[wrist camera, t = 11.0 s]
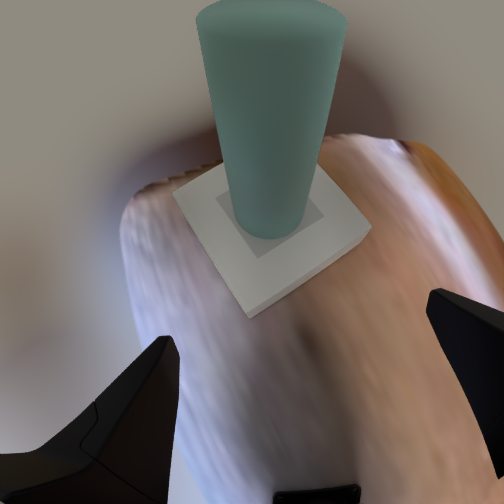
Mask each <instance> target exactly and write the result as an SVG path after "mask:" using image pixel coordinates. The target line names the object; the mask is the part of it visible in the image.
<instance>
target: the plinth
mask: <svg viewBox="0 0 504 504" xmlns="http://www.w3.org/2000/svg"><path fill="white" fill-rule="evenodd" d="M171 194H172V196H173V197H174V199H175V201H176V203H177V204H178V206H179V208H180V209H181V211H182V213H183V214H184V216H185V218H186V219H187V221H188V223H189V224H190V226H191V228H192V229H193V231H194V233H195V234H196V236H197V238H198V239H199V241H200V243H201V244H202V246H203V247H204V249H205V251H206V252H207V254H208V256H209V257H210V259H211V260H212V262H213V264H214V265H215V267H216V268H217V270H218V272H219V273H220V275H221V276H222V278H223V279H224V281H225V283H226V284H227V286H228V287H229V289H230V290H231V292H232V294H233V295H234V297H235V298H236V300H237V301H238V303H239V304H240V306H241V308H242V309H243V311H244V312H245V314H246V315H247V317H248V318H249V319H250V318H252V317H253V316H255V315H257V314H258V313H260V312H261V311H263V310H264V309H266V308H267V307H269V306H270V305H272V304H273V303H275V302H276V301H278V300H279V299H281V298H282V297H284V296H285V295H287V294H288V293H290V292H291V291H293V290H294V289H296V288H297V287H299V286H300V285H302V284H303V283H305V282H306V281H308V280H309V279H310V278H312V277H313V276H315V275H316V274H318V273H319V272H320V271H322V270H323V269H325V268H326V267H328V266H329V265H330V264H332V263H333V262H335V261H336V260H337V259H339V258H340V257H342V256H343V255H344V254H346V253H347V252H348V251H350V250H351V249H353V248H354V247H355V246H357V245H358V244H359V243H360V242H361V241H362V240H363V239H364V237H365V236H366V235H367V233H368V232H369V231H370V229H371V228H372V225H371V224H370V223H369V221H368V220H367V219H366V218H365V217H364V215H363V214H362V213H361V212H360V211H359V209H358V208H357V207H356V206H355V205H354V204H353V202H352V201H351V200H350V199H349V198H348V197H347V195H346V194H345V193H344V192H343V191H342V190H341V189H340V188H339V186H338V185H337V184H336V183H335V182H334V181H333V180H332V179H331V178H330V177H329V175H328V174H327V173H326V172H325V171H324V170H323V169H322V168H321V167H320V166H319V165H318V164H317V165H316V169H315V173H314V177H313V181H312V184H311V188H310V192H309V196H308V200H307V203H306V207H305V211H304V215H303V218H302V220H301V222H300V224H299V225H298V227H297V228H296V229H295V230H294V231H293V232H291V233H290V234H288V235H286V236H284V237H281V238H277V239H262V238H258V237H255V236H253V235H251V234H249V233H247V232H246V231H245V230H244V229H243V228H242V227H241V226H240V225H239V224H238V222H237V220H236V217H235V214H234V209H233V205H232V200H231V195H230V190H229V185H228V181H227V176H226V171H225V166H224V162H223V163H222V164H220V165H218V166H216V167H214V168H213V169H211V170H209V171H207V172H205V173H204V174H202V175H200V176H198V177H197V178H195V179H193V180H192V181H190V182H188V183H187V184H185V185H183V186H181V187H180V188H178V189H177V190H175V191H173V192H172V193H171Z"/></svg>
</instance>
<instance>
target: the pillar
mask: <svg viewBox="0 0 504 504" xmlns="http://www.w3.org/2000/svg"><path fill="white" fill-rule="evenodd" d="M196 24H197V30H198V35H199V40H200V45H201V51H202V55H203V61H204V66H205V71H206V76H207V81H208V86H209V92H210V97H211V102H212V106H213V111H214V116H215V121H216V127H217V132H218V137H219V142H220V146H221V151H222V156H223V161H224V166H225V171H226V176H227V181H228V185H229V190H230V195H231V200H232V205H233V209H234V214H235V217H236V220H237V222H238V224H239V225H240V226H241V227H242V228H243V229H244V230H245V231H246V232H247V233H249V234H251V235H253V236H255V237H258V238H262V239H277V238H281V237H284V236H286V235H288V234H290V233H291V232H293V231H294V230H295V229H296V228H297V227H298V225H299V224H300V222H301V220H302V218H303V215H304V211H305V207H306V203H307V200H308V196H309V192H310V188H311V184H312V181H313V177H314V173H315V169H316V165H317V161H318V157H319V153H320V149H321V144H322V140H323V136H324V131H325V128H326V123H327V119H328V115H329V110H330V106H331V101H332V97H333V92H334V87H335V83H336V78H337V73H338V68H339V64H340V58H341V53H342V48H343V43H344V38H345V33H346V27H347V21H346V19H345V17H344V16H343V15H342V14H341V13H340V12H338V11H337V10H336V9H334V8H332V7H330V6H328V5H326V4H324V3H321V2H319V1H315V0H221V1H218V2H216V3H213V4H211V5H209V6H207V7H206V8H204V9H203V10H202V11H201V12H200V13H198V15H197V17H196Z"/></svg>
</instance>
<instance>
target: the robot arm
mask: <svg viewBox="0 0 504 504" xmlns="http://www.w3.org/2000/svg"><path fill="white" fill-rule="evenodd" d="M426 314H427V317H428V319H429V321H430V323H431V325H432V327H433V330H434V332H435V334H436V336H437V339H438V341H439V343H440V346H441V348H442V350H443V352H444V353H445V355H446V357H447V359H448V361H449V363H450V365H451V367H452V369H453V370H454V372H455V374H456V376H457V378H458V380H459V382H460V384H461V387H462V389H463V391H464V393H465V395H466V397H467V399H468V401H469V404H470V406H471V408H472V410H473V413H474V415H475V417H476V420H477V422H478V425H479V427H480V429H481V432H482V435H483V437H484V440H485V443H486V445H487V448H488V451H489V454H490V457H491V460H492V463H493V466H494V469H495V472H496V475H497V478H498V479H500V478H501V477H503V476H504V312H501V311H499V310H496V309H494V308H491V307H489V306H486V305H484V304H481V303H479V302H476V301H474V300H471V299H468V298H466V297H463V296H461V295H458V294H455V293H453V292H450V291H448V290H445V289H442V288H437V289H434V290H432V291H431V292H430V294H429V298H428V303H427V307H426ZM179 370H180V356H179V352H178V350H177V348H176V345H175V343H174V340H173V338H172V337H171V336H170V335H167V336H159V337H158V338H157V339H156V340H155V341H154V342H152V343H151V344H150V345H149V346H148V347H147V348H146V349H145V350H144V351H143V352H142V353H141V354H140V356H138V357H137V358H136V359H135V360H134V361H133V362H132V363H131V364H130V365H129V366H128V367H127V368H126V369H125V370H124V372H122V373H121V374H120V375H119V376H118V377H117V378H116V379H115V380H114V381H113V382H112V383H111V384H110V385H109V386H108V387H107V388H106V389H105V390H104V391H103V392H102V393H101V394H100V395H99V396H98V397H97V398H96V399H95V401H93V402H92V403H91V404H90V405H89V406H88V407H87V408H86V409H85V410H84V411H83V412H82V413H81V414H80V415H79V416H78V417H76V418H75V419H74V420H73V421H72V422H71V423H69V424H68V425H67V426H66V427H65V428H64V429H62V430H61V431H60V432H59V433H57V434H56V435H55V436H54V437H52V438H51V439H50V440H49V441H48V442H46V443H45V444H44V445H43V446H41V447H40V448H38V449H36V450H33V451H30V452H25V453H13V454H0V504H167V502H168V489H169V477H170V468H171V458H172V449H173V441H174V432H175V424H176V417H177V409H178V401H179ZM353 489H356V491H354V492H352V490H353ZM360 495H361V487H360V486H359V485H357V484H353V485H347V486H341V487H334V488H326V489H316V490H305V491H288V492H277V493H275V494H274V495H273V504H359V502H360ZM277 497H283V498H282V499H277Z"/></svg>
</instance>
